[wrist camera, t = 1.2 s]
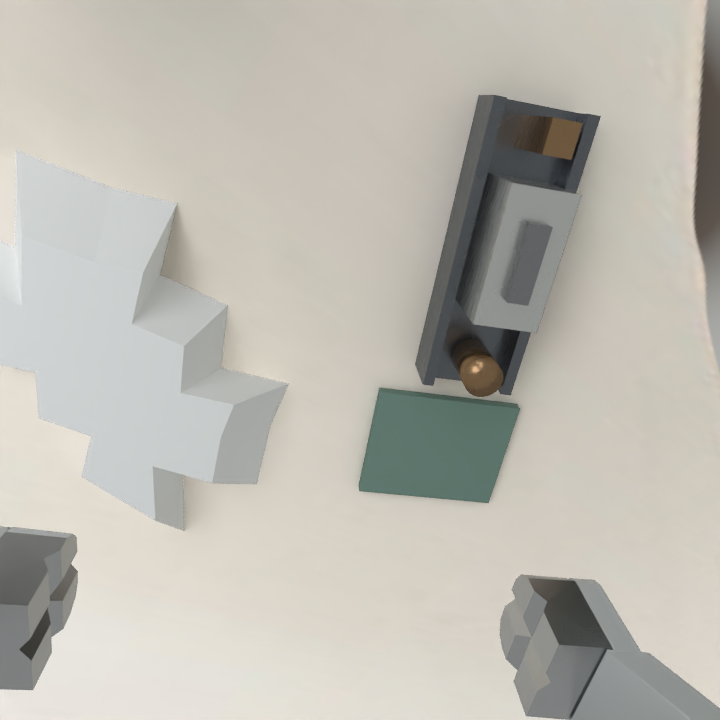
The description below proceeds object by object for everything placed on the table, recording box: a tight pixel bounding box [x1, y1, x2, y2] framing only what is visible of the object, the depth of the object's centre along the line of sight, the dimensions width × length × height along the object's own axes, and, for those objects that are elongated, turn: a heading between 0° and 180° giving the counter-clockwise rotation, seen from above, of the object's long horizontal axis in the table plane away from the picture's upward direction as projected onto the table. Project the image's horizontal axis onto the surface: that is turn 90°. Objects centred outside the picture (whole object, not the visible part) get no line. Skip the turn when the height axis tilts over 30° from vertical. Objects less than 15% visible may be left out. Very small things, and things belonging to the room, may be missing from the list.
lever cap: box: [456, 173, 582, 333], centre depth 37 cm, size 9×4×6 cm, turn 170°
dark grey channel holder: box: [415, 95, 601, 397], centre depth 38 cm, size 20×7×7 cm, turn 170°
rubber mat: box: [359, 388, 520, 503], centre depth 48 cm, size 10×12×1 cm
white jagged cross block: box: [0, 150, 289, 531], centre depth 41 cm, size 35×20×6 cm, turn 26°
